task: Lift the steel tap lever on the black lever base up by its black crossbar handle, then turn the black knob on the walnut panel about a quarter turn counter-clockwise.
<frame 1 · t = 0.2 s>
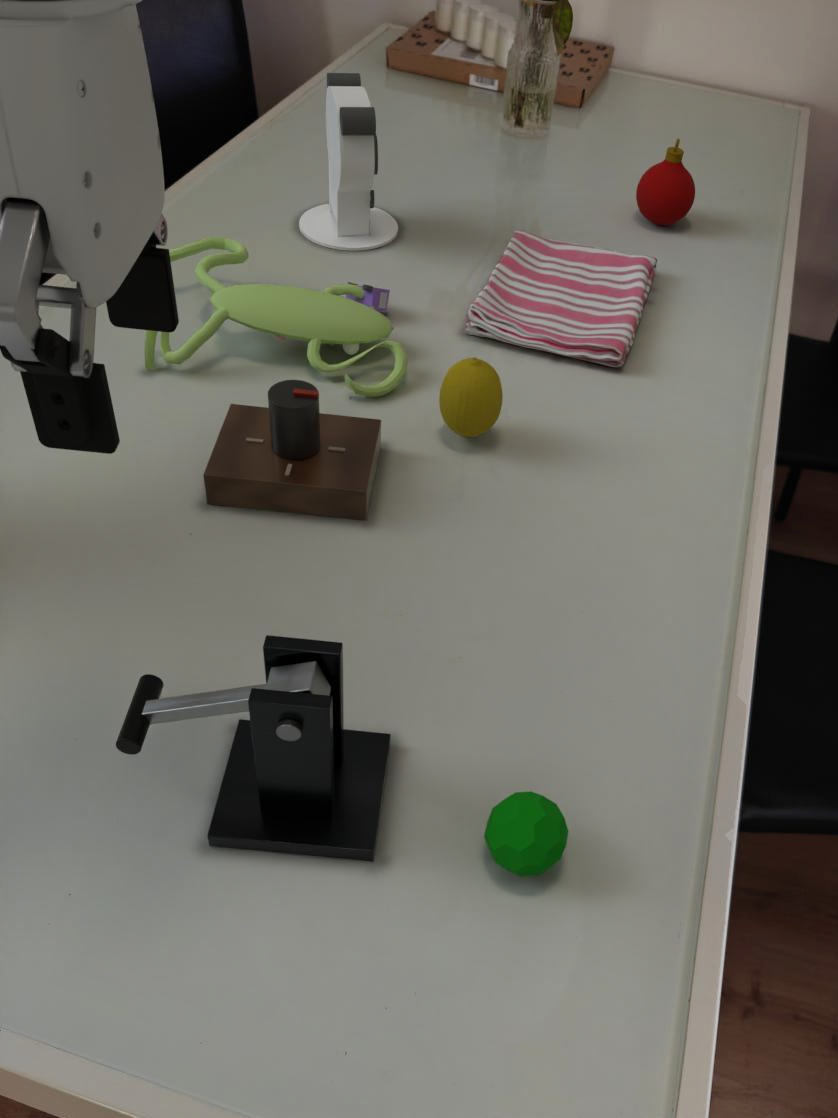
hand: (115, 382, 46), 28 cm above the table, tool pointing down, fingers open, 9 cm apart
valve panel: (297, 474, 87), on the table
polyhedron: (521, 856, 64), on the table
valve knob: (294, 418, 83), point 6 cm above the table, hinge at 0.0°
figurine: (273, 339, 102), on the table
christmas ornament: (658, 223, 127), on the table
tap lever: (223, 702, 59), point 8 cm above the table, hinge at -20.0°
dish towel: (563, 305, 111), on the table
lemon: (466, 438, 93), on the table
black lever base: (304, 793, 65), on the table
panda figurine: (349, 230, 119), on the table
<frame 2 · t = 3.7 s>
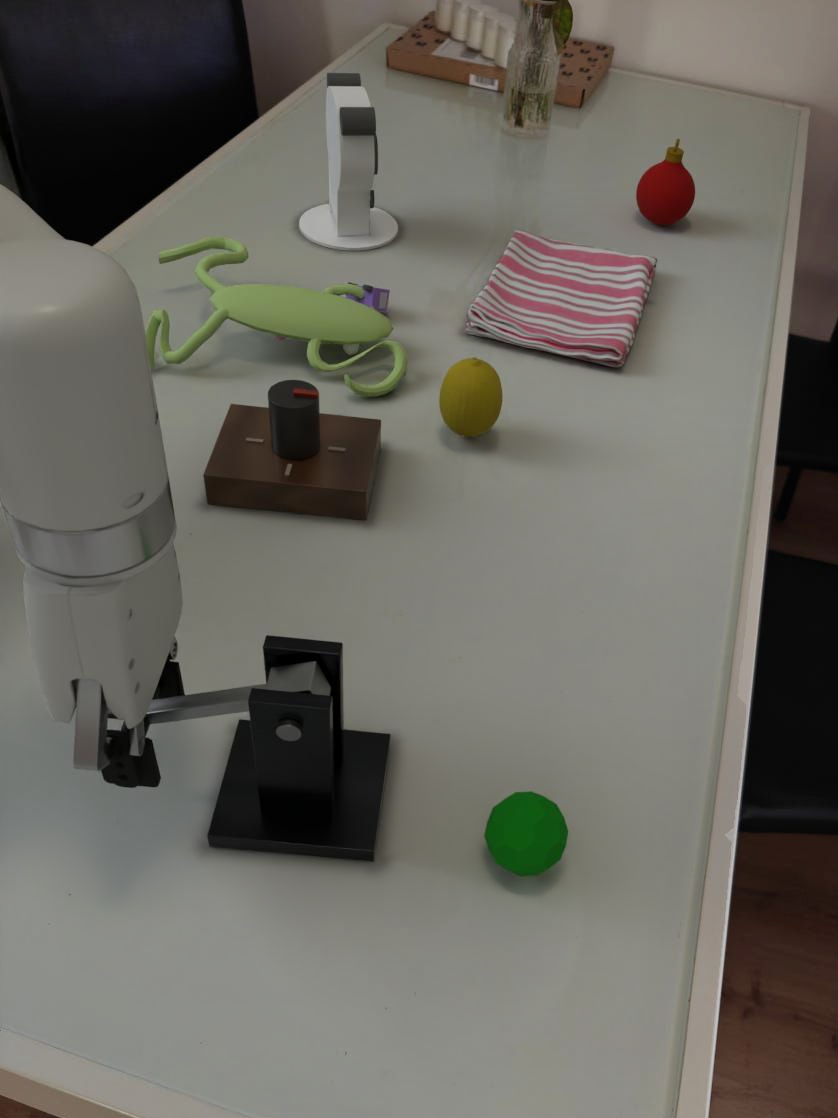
hand: (146, 740, 62), 4 cm above the table, tool pointing down, fingers closed on tap lever, 5 cm apart
tap lever: (223, 702, 59), point 8 cm above the table, hinge at -20.0°, touching gripper
everything else where it was.
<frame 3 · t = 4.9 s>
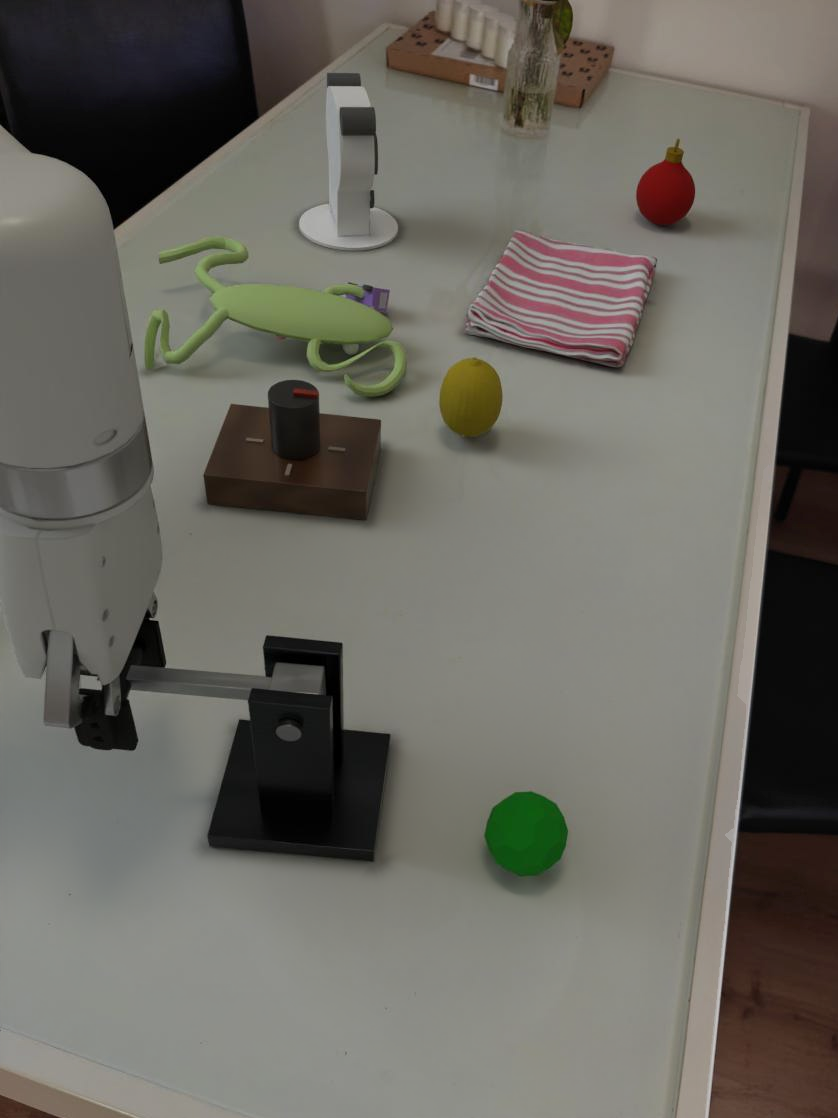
hand: (124, 702, 60), 7 cm above the table, tool pointing down, fingers closed on tap lever, 5 cm apart
tap lever: (215, 684, 58), point 10 cm above the table, hinge at -1.1°, touching gripper
everything else where it was.
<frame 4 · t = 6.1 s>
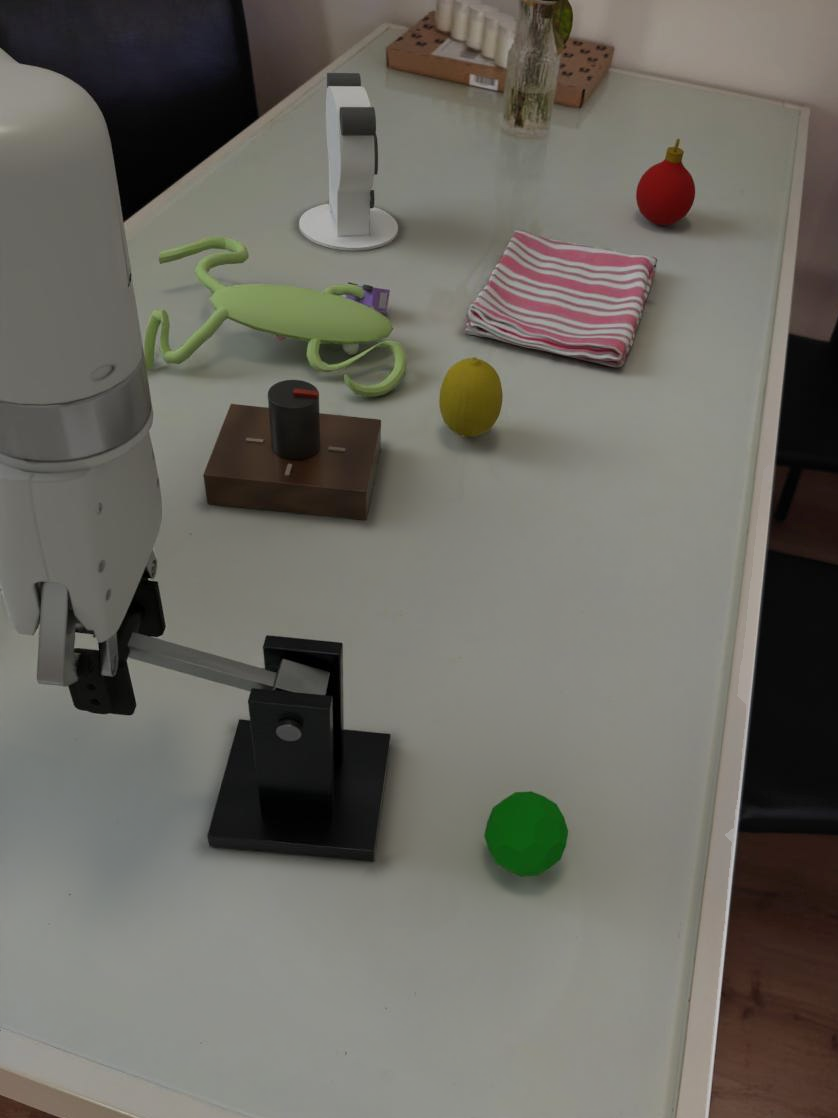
hand: (122, 666, 57), 11 cm above the table, tool pointing down, fingers closed on tap lever, 5 cm apart
tap lever: (216, 668, 57), point 11 cm above the table, hinge at 16.2°, touching gripper
everything else where it was.
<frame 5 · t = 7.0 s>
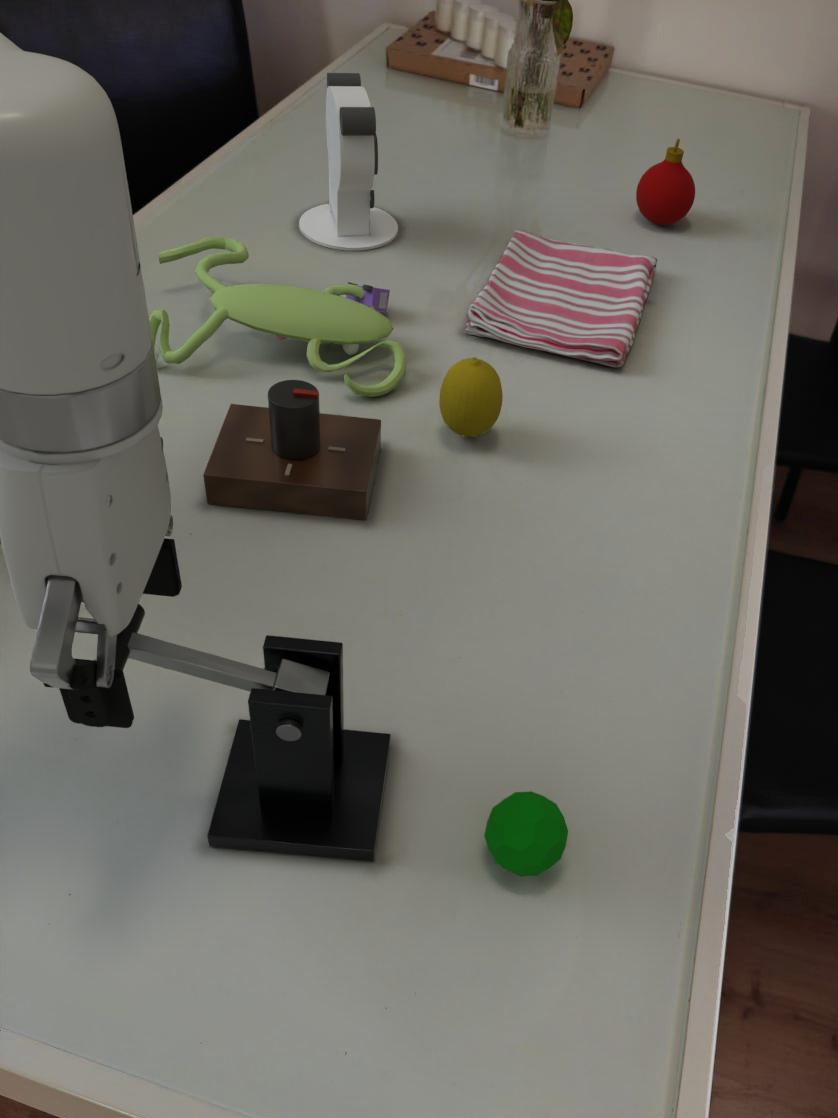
hand: (129, 652, 56), 12 cm above the table, tool pointing down, fingers open, 9 cm apart
tap lever: (216, 669, 57), point 11 cm above the table, hinge at 15.9°
everything else where it was.
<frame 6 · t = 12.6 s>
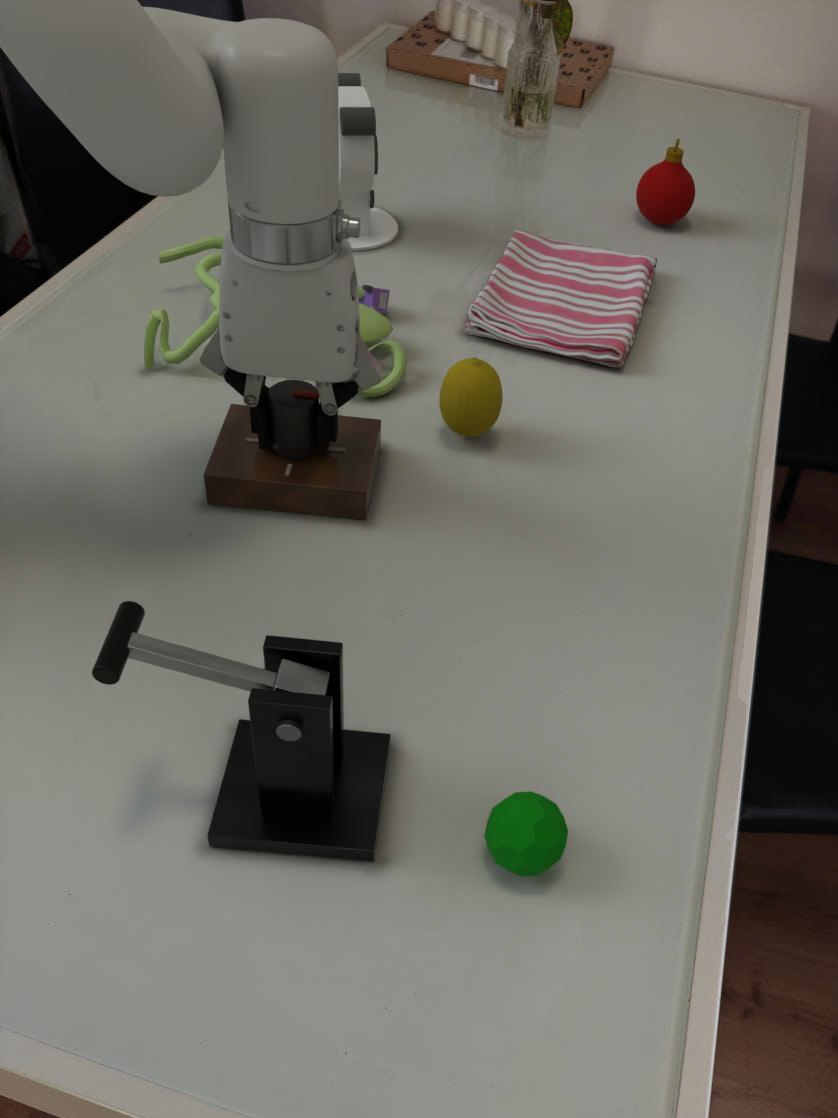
hand: (295, 440, 85), 4 cm above the table, tool pointing down, fingers closed on valve knob, 4 cm apart
valve knob: (294, 418, 83), point 6 cm above the table, hinge at -0.2°, touching gripper
everything else where it was.
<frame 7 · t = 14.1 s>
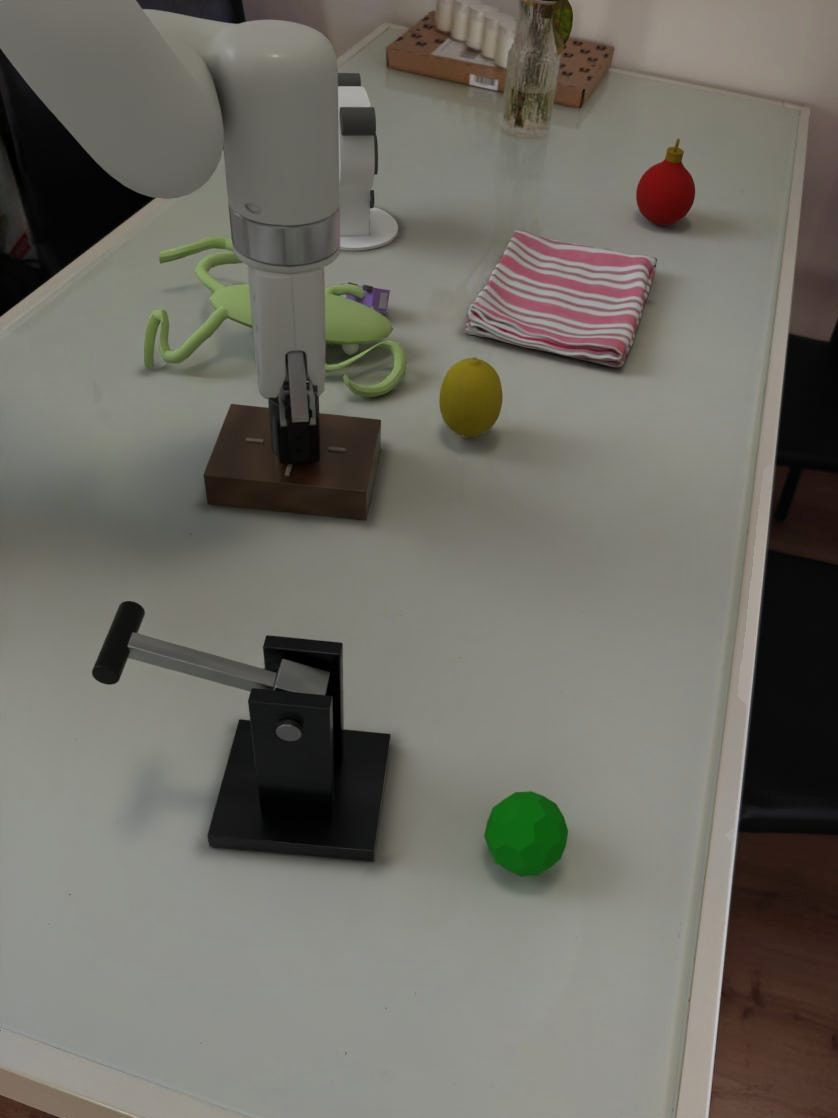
hand: (297, 441, 85), 3 cm above the table, tool pointing down, fingers open, 4 cm apart
valve knob: (294, 418, 83), point 6 cm above the table, hinge at 105.5°
everything else where it was.
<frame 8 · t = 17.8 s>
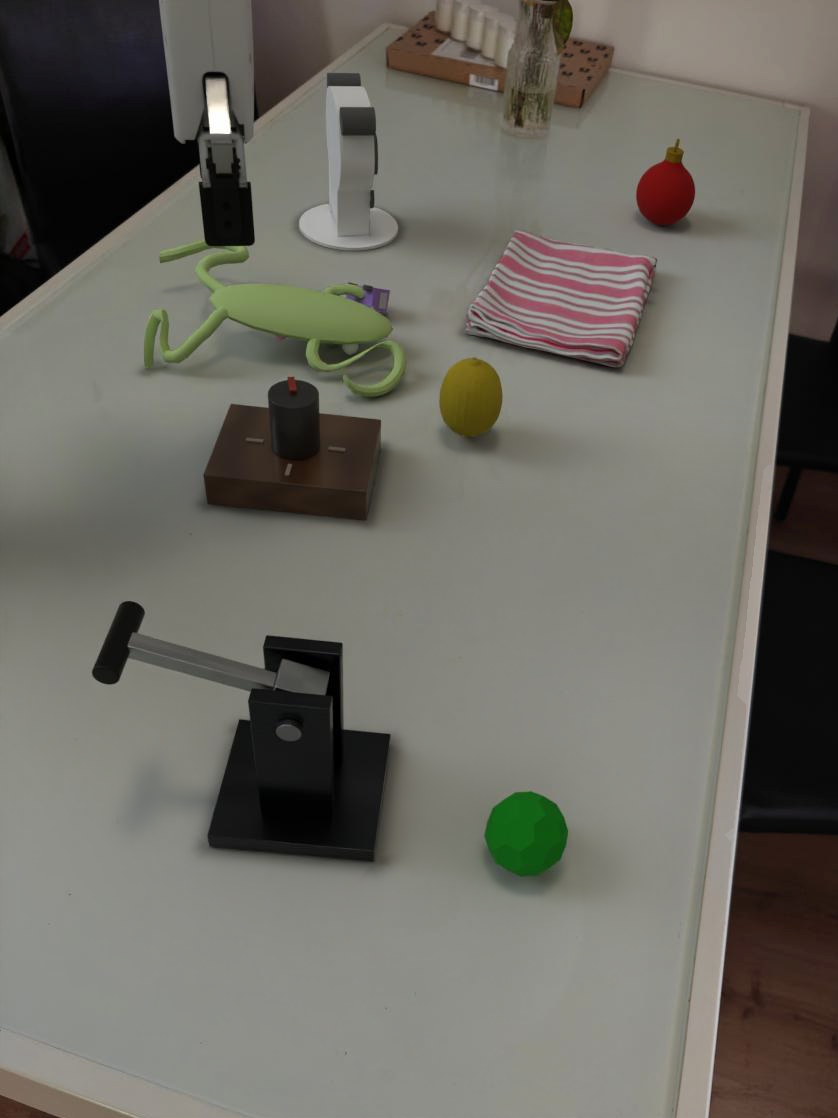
hand: (226, 210, 71), 22 cm above the table, tool pointing down, fingers open, 9 cm apart
nothing on the table moved.
at the end: tap lever at +16° (first picture: -20°); valve knob at +106° (first picture: +0°) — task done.
